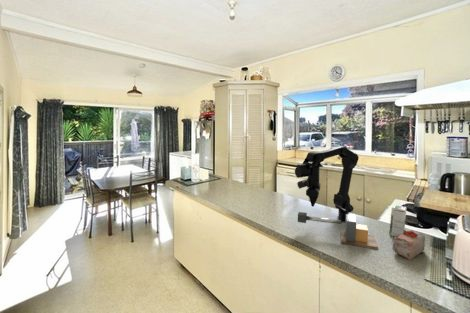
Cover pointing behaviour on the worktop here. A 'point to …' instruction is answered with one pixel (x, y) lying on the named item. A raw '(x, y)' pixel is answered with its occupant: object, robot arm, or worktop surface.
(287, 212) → the worktop surface
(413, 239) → the food item
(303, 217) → the shaft
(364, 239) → the block
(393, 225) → the syrup box
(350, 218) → the stand
